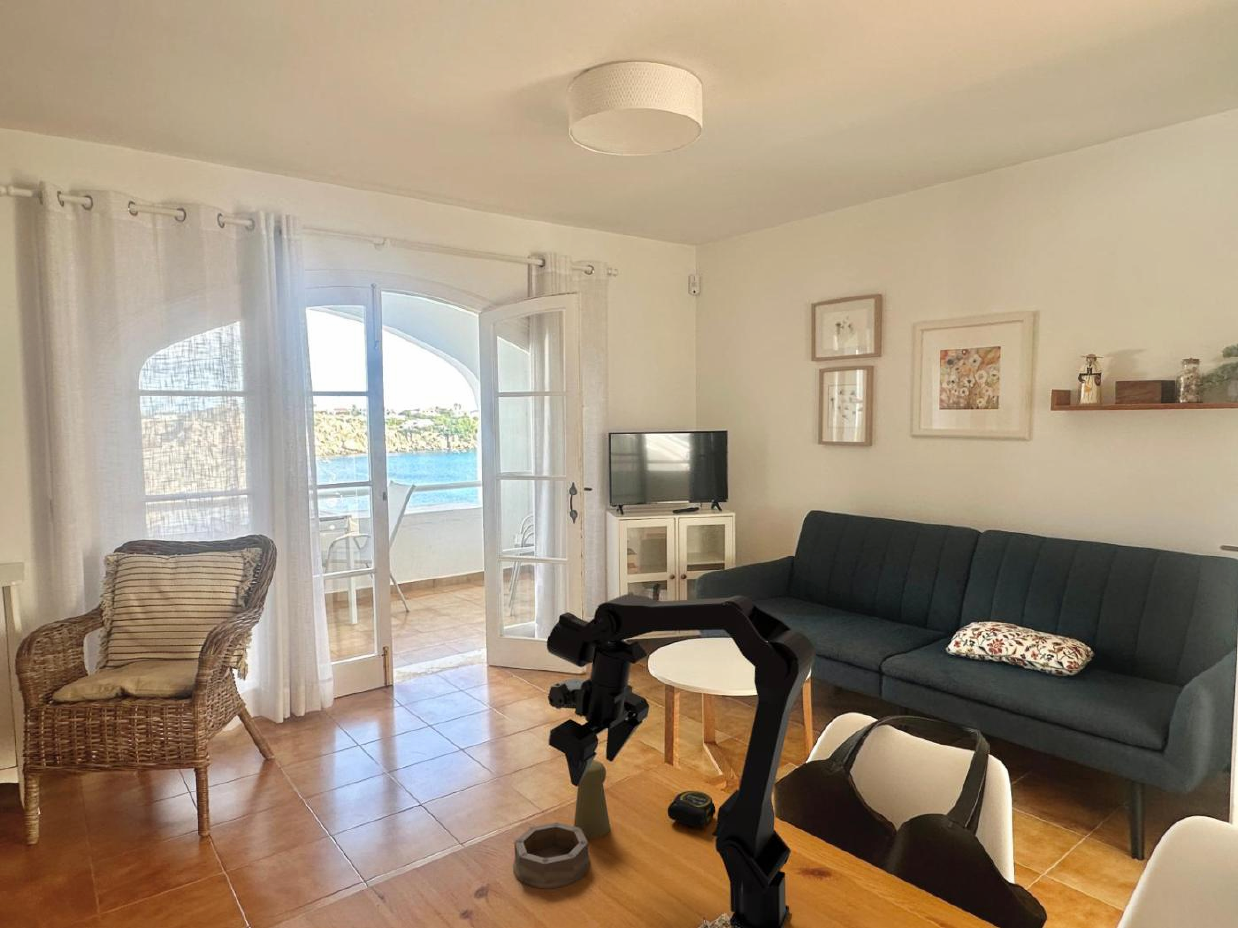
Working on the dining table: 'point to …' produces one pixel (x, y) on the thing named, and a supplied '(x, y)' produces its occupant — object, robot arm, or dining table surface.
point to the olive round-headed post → (592, 803)
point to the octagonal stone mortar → (551, 856)
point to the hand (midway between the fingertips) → (592, 772)
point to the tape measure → (692, 809)
